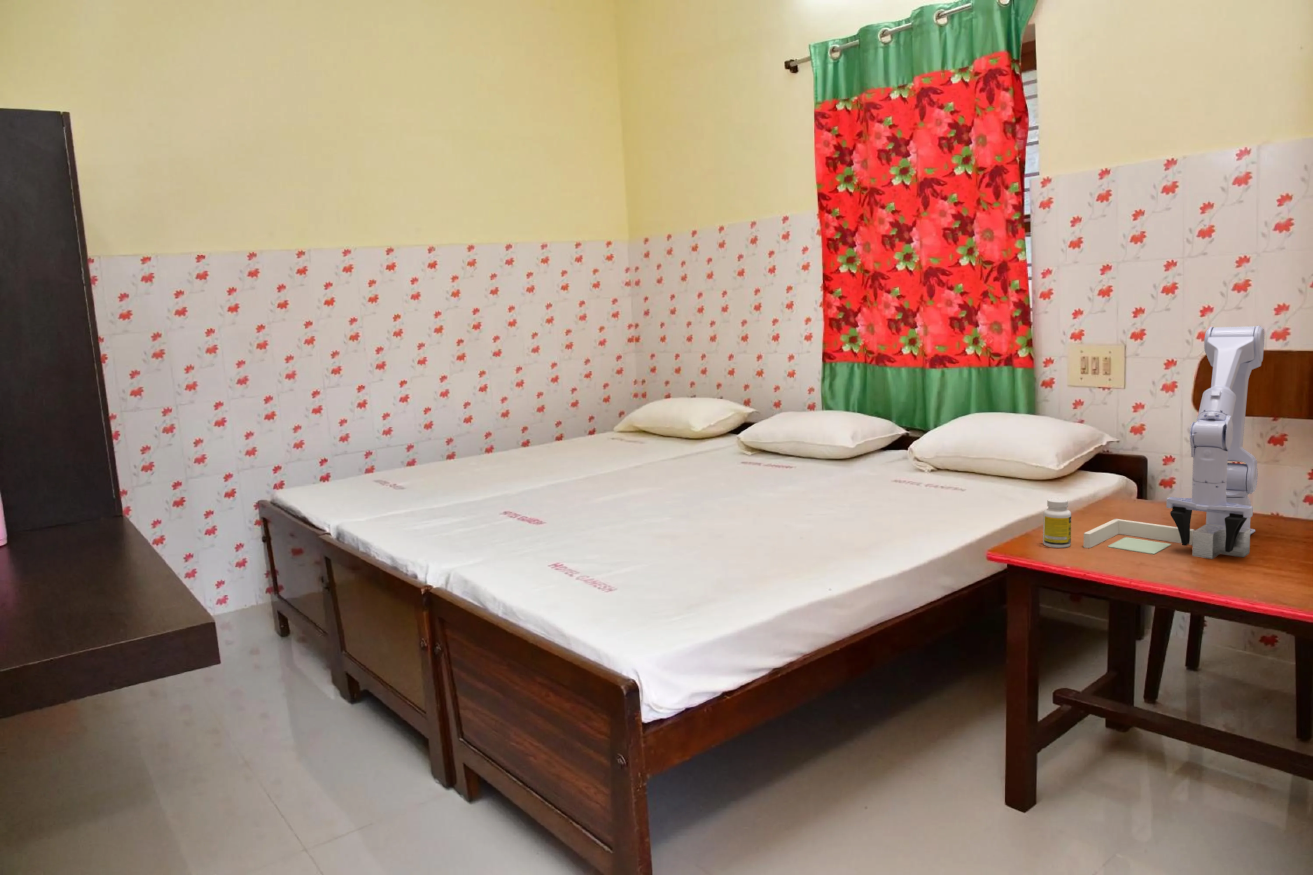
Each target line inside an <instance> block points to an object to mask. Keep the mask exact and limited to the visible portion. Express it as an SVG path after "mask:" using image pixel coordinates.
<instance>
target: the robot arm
mask: <svg viewBox="0 0 1313 875" xmlns="http://www.w3.org/2000/svg"><path fill="white" fill-rule="evenodd" d="M1265 339H1266V338H1265V329H1264V327H1263V326H1262V325H1255V326H1249V325H1248V326H1218V327H1217V326H1215V327H1214V326H1209V327H1208V328H1207V329H1206V331H1205V334H1204V339H1203V340H1204V341H1203V342H1204V343H1203V344H1204V345H1203V346H1204V347H1203V348H1204V352H1205V354H1206V355H1205V356H1207V357H1206V359H1208V362H1209V364H1210V366H1211V367H1212V373H1211V381H1210V382H1211V384H1210V387H1209V388H1207V389H1206V390H1204V391H1203V393H1202V397H1201V400H1200V404H1199V410H1198V413H1197V419H1196V422H1195V421H1192V423H1191V424H1190V430H1189V442H1190V443H1189V445H1190V455H1191V456H1190V457H1191V458H1192V482H1191V497H1174V496H1169V497H1167V498H1166V509H1171V510H1170V511H1169V514H1170V516H1171V518H1172V520H1173V522H1174V523H1175V525H1176V526H1175V527H1177V528H1178V531H1179V534H1180V537H1181V542H1182V543H1181V545H1182V546H1187V545H1189V542H1190V529H1191V521H1192V514H1193V511H1196V512H1203V513H1204V512H1205V513H1206V516H1205V518H1206V519H1205V524H1207V523H1209V524H1216V525H1224V526H1226V542H1225V552H1231V551H1232V550H1233V547H1234V543H1235V540H1236V537H1237V535H1238V533H1239V531H1240V529H1241V528H1248V529H1250V535H1252V534H1254V533H1255V532H1256V529H1254V528H1251V518H1252V517H1253V516H1254V515H1253V514H1254V513H1253V512H1254V506H1252V501H1251V499H1250V498H1249V495H1252V494H1254V492H1256V490H1257V487H1258V486H1257V485H1258V478H1259V476H1258V474H1259V473H1258V459H1257V458H1256V457H1255V455H1254V454H1252V453H1251V452H1249V451H1248V450H1247V449H1245V448H1244V447H1243V445H1244V436H1245V435H1244V434H1245V423H1246V410H1247V399H1248V387H1249V378H1250V375H1251V373H1252V370H1254V369H1257V368H1259V367H1261V366H1262V362H1263V360H1264V352H1265V351H1264V350H1265ZM1235 462H1237V463H1235ZM1238 462H1239V463H1238Z"/></svg>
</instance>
